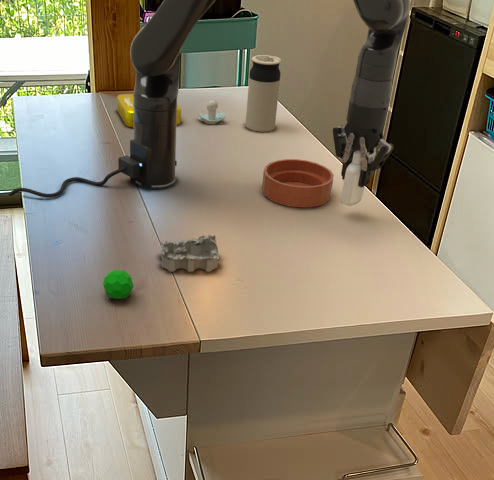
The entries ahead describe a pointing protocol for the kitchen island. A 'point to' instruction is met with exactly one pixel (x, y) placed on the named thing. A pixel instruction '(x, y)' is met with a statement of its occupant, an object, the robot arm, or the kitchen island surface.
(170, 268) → the egg carton
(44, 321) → the kitchen island surface
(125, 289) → the polyhedron
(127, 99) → the element tile
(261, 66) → the travel mug
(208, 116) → the pacifier
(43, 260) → the kitchen island surface
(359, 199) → the eye dropper bottle
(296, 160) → the bowl
